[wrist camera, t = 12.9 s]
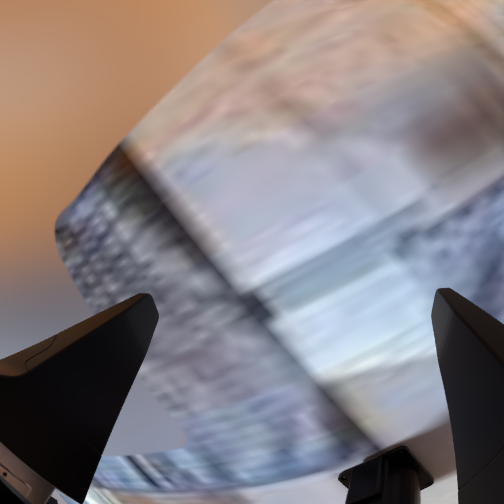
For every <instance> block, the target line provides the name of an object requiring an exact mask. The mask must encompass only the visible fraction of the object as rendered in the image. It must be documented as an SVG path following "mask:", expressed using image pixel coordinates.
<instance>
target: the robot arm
mask: <svg viewBox="0 0 504 504" xmlns="http://www.w3.org/2000/svg"><path fill="white" fill-rule="evenodd" d="M431 318H432V325H433V331H434V337H435V343H436V350H437V357H438V363H439V368H440V372H441V376H442V381H443V385H444V390H445V395H446V400H447V405H448V410H449V416H450V422H451V428H452V435H453V442H454V450H455V458H456V468H457V481H458V490H459V491H458V504H504V324H502V323H501V322H500V321H498V320H497V319H495V318H494V317H493V316H491V315H490V314H488V313H487V312H485V311H484V310H482V309H481V308H479V307H478V306H477V305H475V304H474V303H472V302H471V301H469V300H468V299H466V298H465V297H463V296H461V295H460V294H458V293H457V292H455V291H454V290H452V289H451V288H439V289H437V290H436V293H435V297H434V303H433V308H432V313H431ZM158 319H159V314H158V311H157V308H156V305H155V303H154V300H153V297H152V296H151V295H150V294H148V293H139V294H137V295H135V296H133V297H131V298H129V299H126V300H124V301H122V302H120V303H118V304H116V305H114V306H112V307H110V308H108V309H106V310H104V311H102V312H100V313H98V314H96V315H94V316H92V317H90V318H88V319H86V320H84V321H82V322H80V323H78V324H76V325H74V326H72V327H70V328H68V329H66V330H64V331H62V332H60V333H58V335H57V334H56V335H54V336H52V337H50V338H48V339H46V340H44V341H42V342H40V343H38V344H35V345H33V346H31V347H29V348H27V349H24V350H22V351H20V352H17V353H15V354H13V355H11V356H8V357H6V358H4V359H1V360H0V504H58V503H57V500H56V499H54V498H53V497H52V496H51V495H52V493H53V492H54V490H55V488H56V489H58V490H59V491H61V492H62V493H64V494H65V495H67V496H68V497H70V498H71V499H73V500H75V501H76V502H78V503H79V504H83V502H84V500H85V498H86V495H87V492H88V490H89V487H90V484H91V482H92V479H93V477H94V474H95V472H96V469H97V466H98V464H99V461H100V459H101V457H102V456H101V455H102V454H103V451H104V448H105V446H106V444H107V441H108V439H109V436H110V434H111V432H112V429H113V427H114V424H115V422H116V420H117V418H118V415H119V413H120V411H121V409H122V406H123V404H124V402H125V399H126V397H127V395H128V393H129V391H130V389H131V386H132V384H133V382H134V380H135V378H136V375H137V373H138V371H139V369H140V367H141V365H142V362H143V360H144V358H145V356H146V353H147V350H148V348H149V345H150V342H151V339H152V336H153V334H154V331H155V328H156V325H157V323H158ZM400 451H403V452H400ZM344 477H345V478H344ZM338 480H339V481H340V482H341V483H342V484H343V485H344V486H345V487H347V488H348V493H347V497H346V501H345V504H421V496H420V491H421V490H423V489H425V488H427V487H429V486H431V485H432V484H433V483H434V479H433V477H432V476H431V475H430V474H429V472H428V471H427V470H426V469H425V468H424V467H423V465H422V464H421V463H420V462H419V461H418V460H417V458H416V457H415V456H414V455H413V454H412V453H411V451H410V450H409V449H408V448H407V447H406V446H399V447H397V448H395V449H393V450H391V451H389V452H387V453H385V454H383V455H381V456H379V457H377V458H375V459H373V460H371V461H368V462H366V463H364V464H362V465H359V466H357V467H355V468H352V469H350V470H347V471H345V472H342V473H340V474H339V477H338Z"/></svg>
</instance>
